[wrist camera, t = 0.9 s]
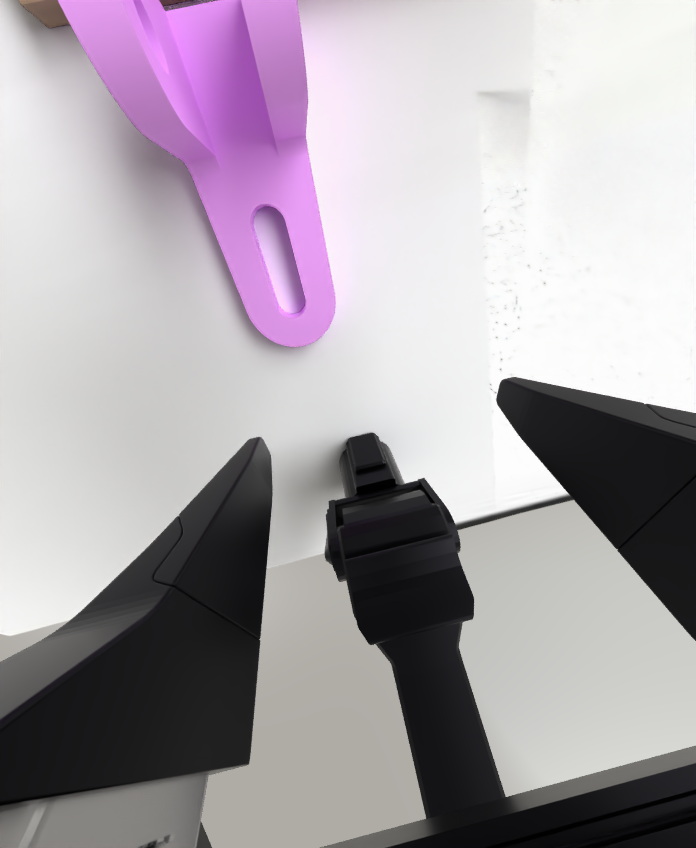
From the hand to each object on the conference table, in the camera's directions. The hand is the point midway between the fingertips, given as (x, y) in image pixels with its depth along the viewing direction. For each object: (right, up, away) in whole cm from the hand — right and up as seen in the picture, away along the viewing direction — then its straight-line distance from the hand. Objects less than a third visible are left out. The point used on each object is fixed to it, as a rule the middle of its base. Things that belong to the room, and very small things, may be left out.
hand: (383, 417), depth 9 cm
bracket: (-6, +11, +5) cm, 13 cm away
